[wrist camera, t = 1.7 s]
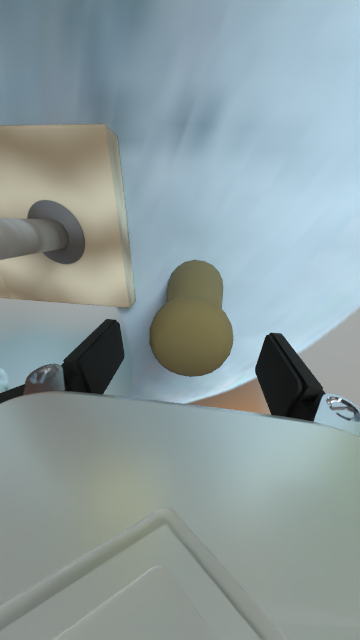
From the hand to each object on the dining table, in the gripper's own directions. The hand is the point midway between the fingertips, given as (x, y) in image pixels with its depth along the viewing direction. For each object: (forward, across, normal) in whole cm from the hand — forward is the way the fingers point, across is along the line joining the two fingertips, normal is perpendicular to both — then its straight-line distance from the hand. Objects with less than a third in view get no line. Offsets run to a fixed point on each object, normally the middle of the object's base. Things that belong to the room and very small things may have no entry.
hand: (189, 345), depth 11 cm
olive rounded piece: (+10, 0, -1) cm, 10 cm away
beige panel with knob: (+9, +19, -6) cm, 22 cm away
